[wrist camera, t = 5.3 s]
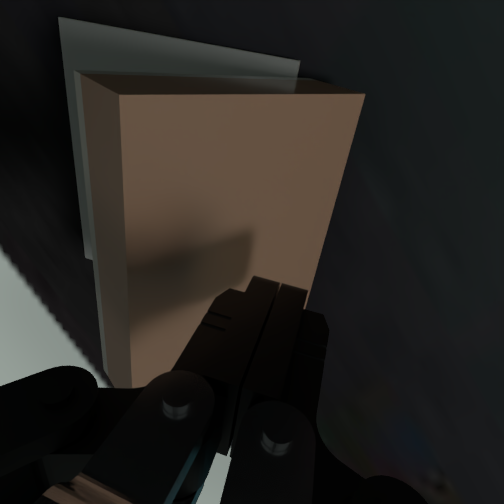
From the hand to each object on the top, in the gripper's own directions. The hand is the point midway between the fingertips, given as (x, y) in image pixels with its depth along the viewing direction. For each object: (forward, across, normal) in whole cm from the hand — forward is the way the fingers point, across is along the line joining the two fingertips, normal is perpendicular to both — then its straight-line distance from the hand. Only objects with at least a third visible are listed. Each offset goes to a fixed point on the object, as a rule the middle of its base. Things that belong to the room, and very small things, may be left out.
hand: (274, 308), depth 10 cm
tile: (+6, 0, 0) cm, 6 cm away
